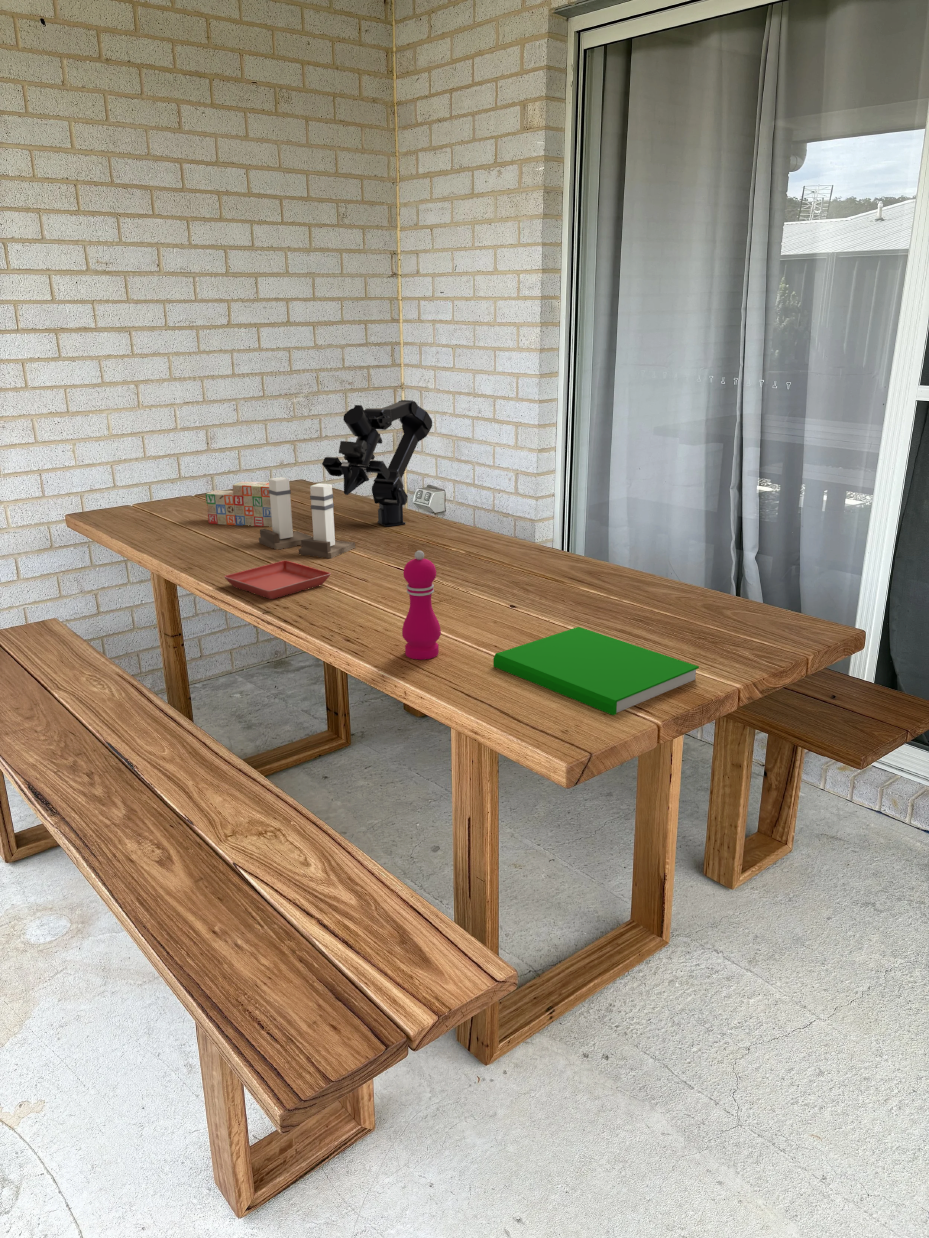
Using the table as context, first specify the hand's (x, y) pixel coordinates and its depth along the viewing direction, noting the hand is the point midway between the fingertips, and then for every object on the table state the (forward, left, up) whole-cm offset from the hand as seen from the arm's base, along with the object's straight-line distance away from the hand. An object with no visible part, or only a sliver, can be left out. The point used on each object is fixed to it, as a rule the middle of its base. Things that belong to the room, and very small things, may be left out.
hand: (345, 494), depth 253 cm
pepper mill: (+21, +88, -14) cm, 91 cm away
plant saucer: (+30, +31, -14) cm, 45 cm away
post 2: (+9, +7, -12) cm, 17 cm away
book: (-1, +112, -14) cm, 113 cm away
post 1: (+16, -8, -12) cm, 21 cm away
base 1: (+15, -8, -13) cm, 22 cm away
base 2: (+8, +6, -13) cm, 17 cm away
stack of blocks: (+18, -39, -14) cm, 45 cm away
